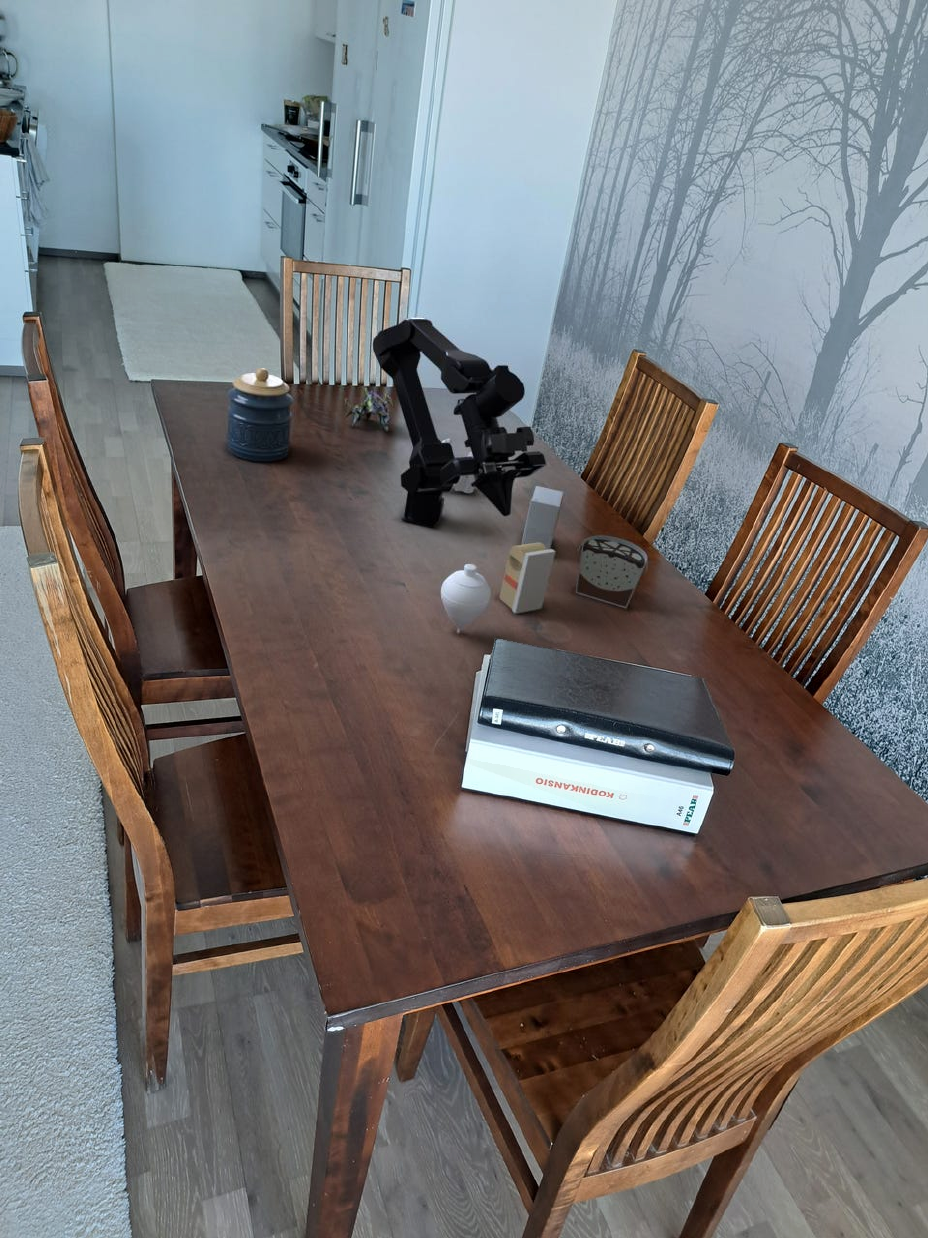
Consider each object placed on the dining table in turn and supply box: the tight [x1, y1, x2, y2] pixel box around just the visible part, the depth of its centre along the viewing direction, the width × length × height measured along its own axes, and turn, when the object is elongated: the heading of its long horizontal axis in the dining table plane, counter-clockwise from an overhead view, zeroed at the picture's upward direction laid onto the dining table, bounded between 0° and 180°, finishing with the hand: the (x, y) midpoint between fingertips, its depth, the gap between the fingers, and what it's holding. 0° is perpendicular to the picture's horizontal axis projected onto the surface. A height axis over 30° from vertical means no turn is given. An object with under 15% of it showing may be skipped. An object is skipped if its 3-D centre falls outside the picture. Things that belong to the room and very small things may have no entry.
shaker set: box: [441, 438, 475, 494], centre depth 187 cm, size 12×4×11 cm, turn 104°
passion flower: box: [343, 387, 396, 432], centre depth 212 cm, size 11×11×12 cm
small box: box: [520, 485, 565, 550], centre depth 171 cm, size 8×6×10 cm
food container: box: [574, 535, 649, 610], centre depth 159 cm, size 12×6×10 cm, turn 71°
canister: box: [226, 367, 294, 463], centre depth 186 cm, size 13×13×18 cm
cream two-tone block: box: [499, 542, 556, 615], centre depth 151 cm, size 6×6×11 cm
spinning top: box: [440, 563, 492, 634], centre depth 139 cm, size 8×8×12 cm
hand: (507, 515), depth 152 cm, fingers closed
